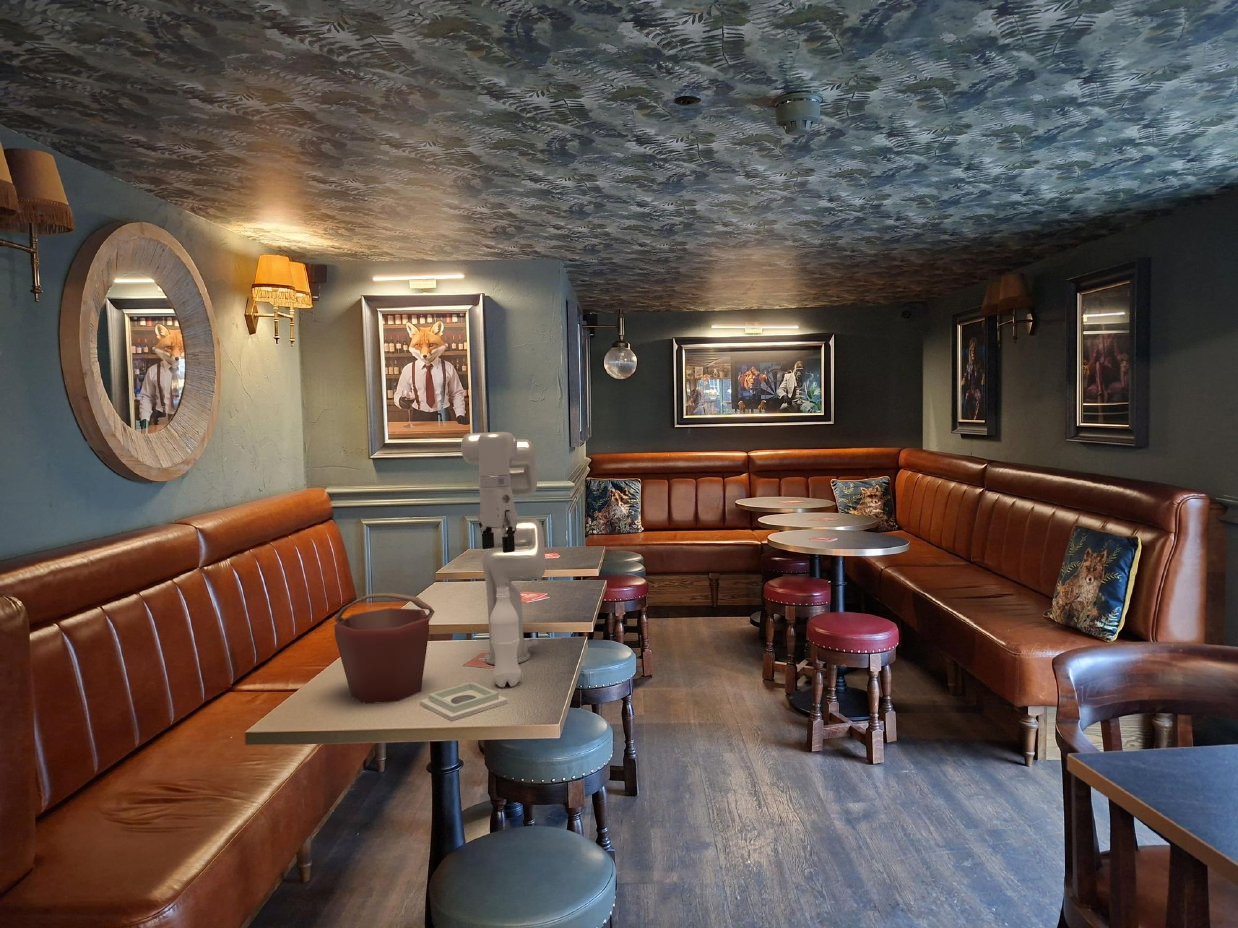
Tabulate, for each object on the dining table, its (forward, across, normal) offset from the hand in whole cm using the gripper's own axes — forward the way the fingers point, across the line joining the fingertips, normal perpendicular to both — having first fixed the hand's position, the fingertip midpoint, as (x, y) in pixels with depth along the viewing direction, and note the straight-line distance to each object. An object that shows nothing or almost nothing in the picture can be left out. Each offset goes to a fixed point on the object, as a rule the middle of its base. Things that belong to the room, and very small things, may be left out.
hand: (498, 550), depth 199 cm
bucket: (+35, +17, +24) cm, 46 cm away
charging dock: (+34, -5, +14) cm, 38 cm away
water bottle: (+35, 0, -1) cm, 35 cm away
